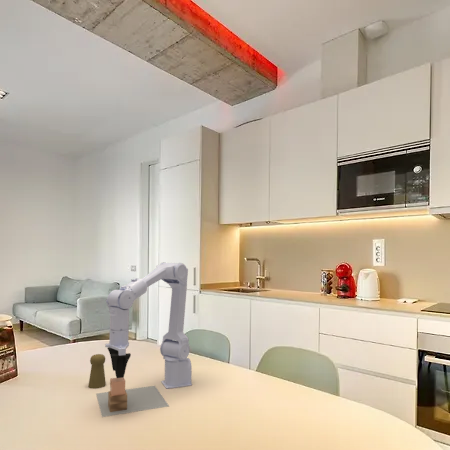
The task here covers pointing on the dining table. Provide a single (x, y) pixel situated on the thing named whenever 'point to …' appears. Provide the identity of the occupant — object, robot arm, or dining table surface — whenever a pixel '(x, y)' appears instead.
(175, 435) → the dining table surface
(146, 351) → the dining table surface
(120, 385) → the cube
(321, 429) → the dining table surface
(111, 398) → the tower top
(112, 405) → the tower bottom
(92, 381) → the olive pawn
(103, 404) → the mat
